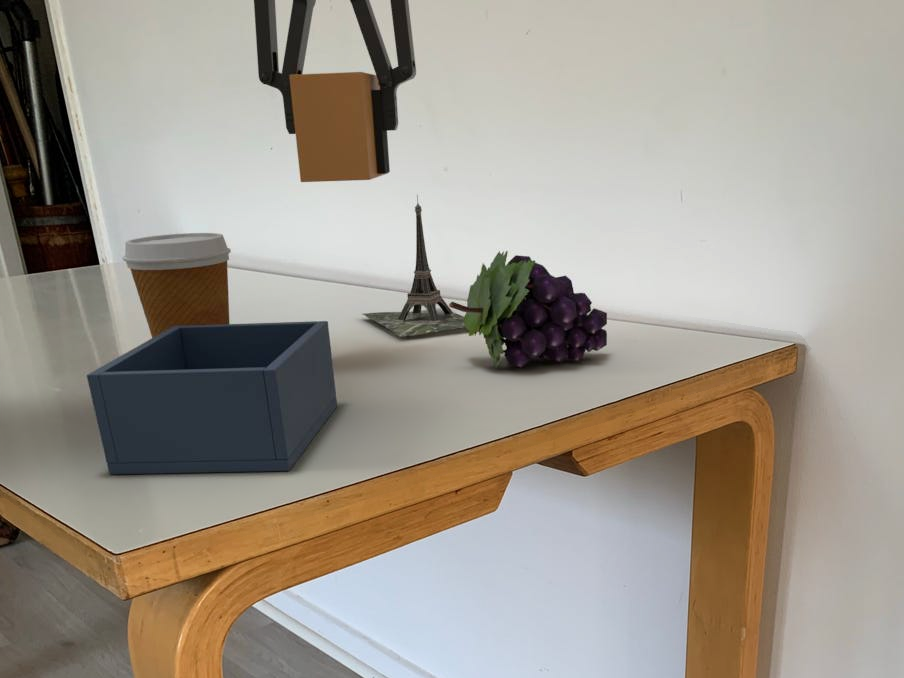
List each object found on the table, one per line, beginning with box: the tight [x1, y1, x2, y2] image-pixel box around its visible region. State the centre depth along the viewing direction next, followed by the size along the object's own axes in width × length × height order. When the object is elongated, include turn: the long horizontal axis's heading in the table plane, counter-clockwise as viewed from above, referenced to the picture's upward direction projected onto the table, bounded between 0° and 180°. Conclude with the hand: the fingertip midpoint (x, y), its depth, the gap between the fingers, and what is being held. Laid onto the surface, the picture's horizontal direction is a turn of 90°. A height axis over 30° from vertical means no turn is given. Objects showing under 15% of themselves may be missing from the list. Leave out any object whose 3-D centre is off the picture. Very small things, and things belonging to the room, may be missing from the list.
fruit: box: [448, 250, 608, 369], centre depth 90 cm, size 10×11×15 cm
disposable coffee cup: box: [122, 232, 232, 339], centre depth 92 cm, size 10×10×12 cm
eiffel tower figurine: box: [362, 194, 465, 338], centre depth 108 cm, size 15×10×13 cm
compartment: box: [86, 320, 338, 475], centre depth 73 cm, size 13×17×7 cm
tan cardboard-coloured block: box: [289, 71, 390, 183], centre depth 87 cm, size 6×11×8 cm, turn 176°
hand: (346, 173), depth 89 cm, fingers closed on tan cardboard-coloured block, 6 cm apart
